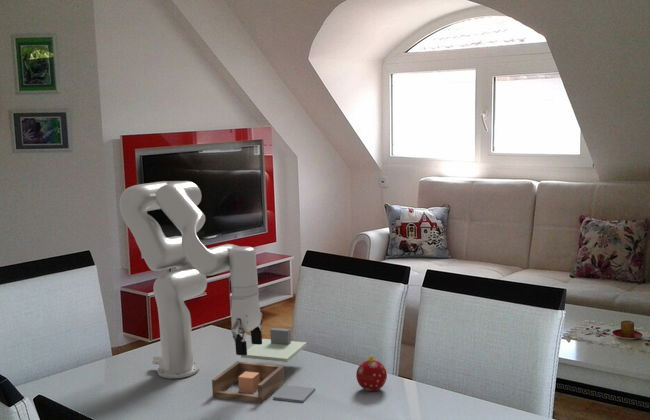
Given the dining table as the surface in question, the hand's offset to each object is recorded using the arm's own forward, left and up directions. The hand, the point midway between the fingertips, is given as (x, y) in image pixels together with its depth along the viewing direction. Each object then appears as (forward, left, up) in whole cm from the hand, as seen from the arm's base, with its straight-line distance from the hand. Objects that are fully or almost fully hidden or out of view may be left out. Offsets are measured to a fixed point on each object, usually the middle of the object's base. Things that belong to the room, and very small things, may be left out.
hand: (249, 349), depth 204 cm
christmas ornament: (+33, +9, -12) cm, 37 cm away
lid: (-1, +18, -7) cm, 19 cm away
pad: (+13, 0, -12) cm, 18 cm away
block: (-1, 0, -12) cm, 12 cm away
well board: (-1, 0, -12) cm, 12 cm away
